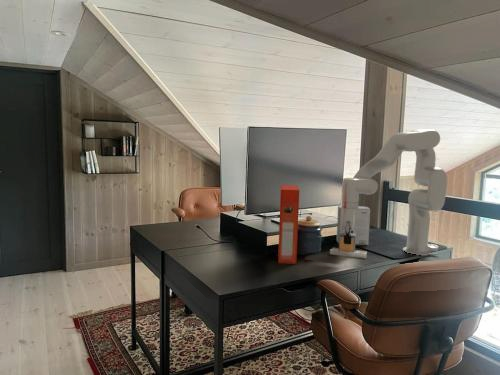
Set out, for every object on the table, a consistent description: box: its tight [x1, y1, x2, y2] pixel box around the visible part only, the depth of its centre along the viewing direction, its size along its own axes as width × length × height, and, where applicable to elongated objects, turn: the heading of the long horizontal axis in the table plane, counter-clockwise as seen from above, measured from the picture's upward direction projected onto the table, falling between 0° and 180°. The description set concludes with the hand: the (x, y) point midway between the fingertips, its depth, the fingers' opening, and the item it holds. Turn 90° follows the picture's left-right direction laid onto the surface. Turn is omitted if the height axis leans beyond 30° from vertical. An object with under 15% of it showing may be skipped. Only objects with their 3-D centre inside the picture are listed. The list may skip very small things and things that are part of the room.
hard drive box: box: [336, 205, 372, 246], centre depth 202 cm, size 16×8×20 cm, turn 84°
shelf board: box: [329, 247, 368, 259], centre depth 183 cm, size 16×12×4 cm
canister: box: [297, 215, 323, 256], centre depth 187 cm, size 13×13×18 cm
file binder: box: [277, 184, 300, 265], centre depth 176 cm, size 8×17×32 cm, turn 176°
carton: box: [338, 232, 356, 252], centre depth 183 cm, size 5×7×9 cm
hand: (348, 241), depth 183 cm, fingers open, 9 cm apart
